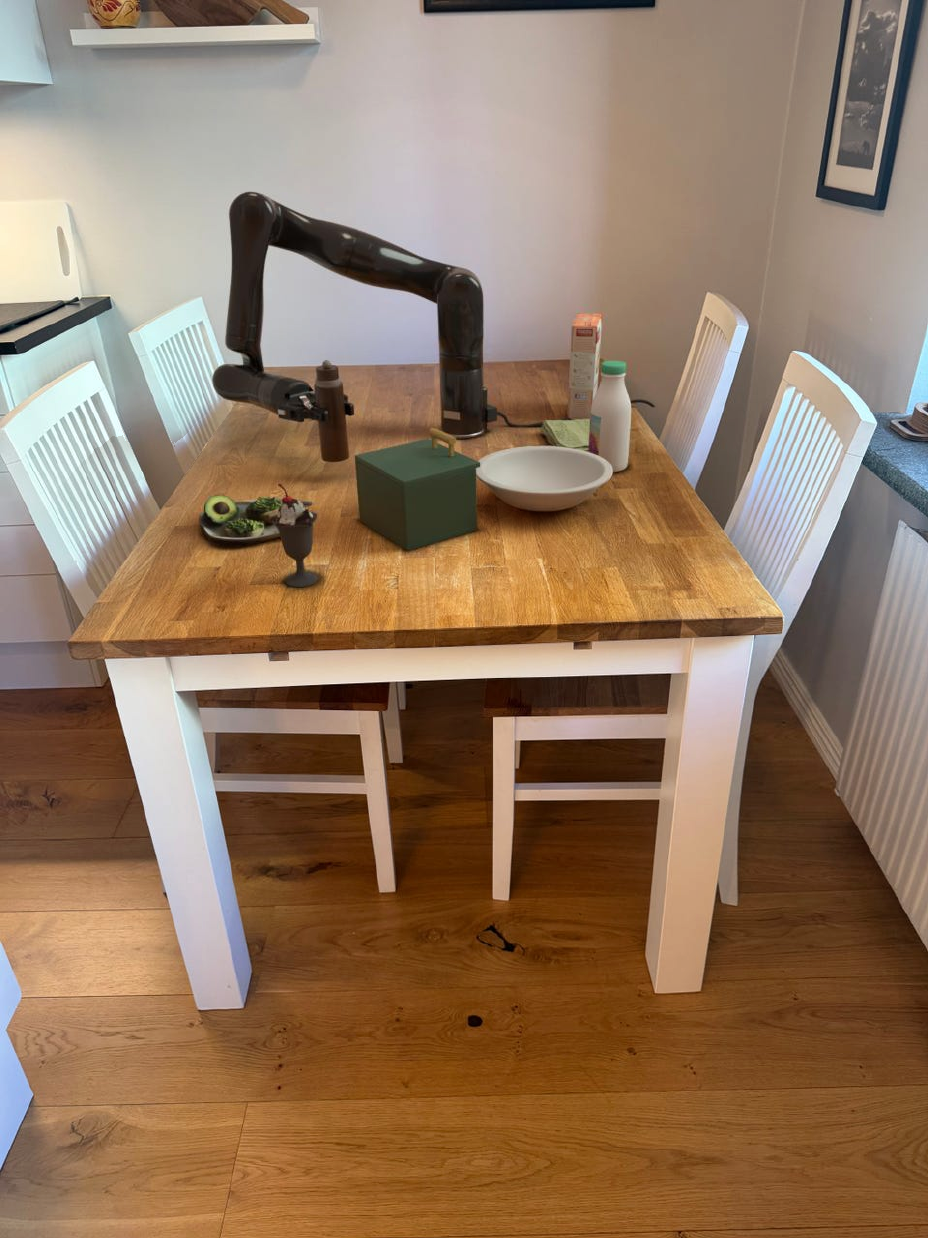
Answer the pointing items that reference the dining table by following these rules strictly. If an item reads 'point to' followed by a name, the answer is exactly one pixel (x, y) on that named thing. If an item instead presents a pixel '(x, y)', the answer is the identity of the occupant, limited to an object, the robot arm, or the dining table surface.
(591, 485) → the soup bowl
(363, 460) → the bin lid
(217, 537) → the salad plate
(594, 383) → the cracker box
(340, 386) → the pepper mill
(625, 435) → the milk bottle
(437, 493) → the bin
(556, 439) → the washcloth
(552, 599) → the dining table surface
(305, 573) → the sundae
